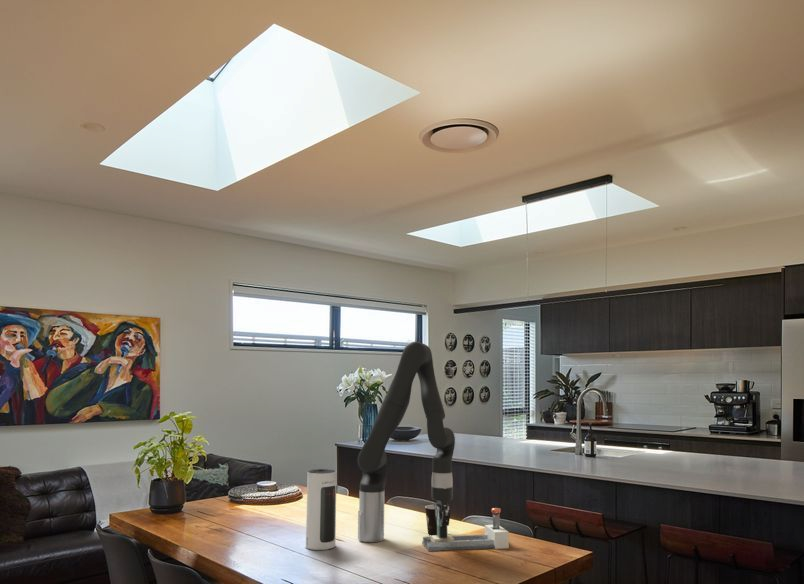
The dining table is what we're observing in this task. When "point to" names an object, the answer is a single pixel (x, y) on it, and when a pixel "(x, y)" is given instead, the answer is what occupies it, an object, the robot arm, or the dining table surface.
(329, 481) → the speaker
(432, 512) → the coffee mug
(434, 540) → the carriage
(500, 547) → the end cabinet
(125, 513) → the dining table surface
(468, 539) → the rail bed
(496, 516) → the gauge plunger
